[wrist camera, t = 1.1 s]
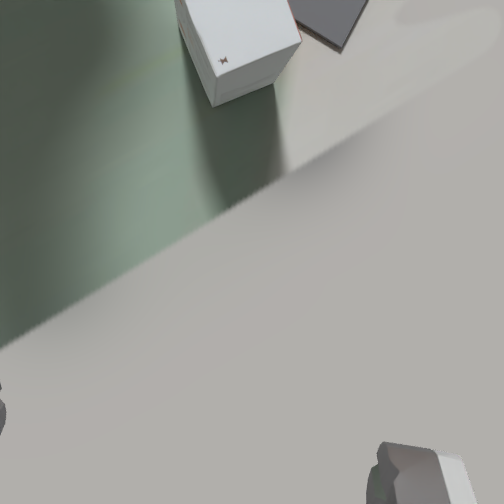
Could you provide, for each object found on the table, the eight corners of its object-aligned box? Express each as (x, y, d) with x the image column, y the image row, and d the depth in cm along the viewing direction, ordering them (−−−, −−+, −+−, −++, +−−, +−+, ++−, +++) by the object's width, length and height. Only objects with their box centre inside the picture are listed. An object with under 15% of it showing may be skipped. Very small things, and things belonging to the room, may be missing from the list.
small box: (275, 83, 43) (305, 43, 30) (211, 109, 42) (215, 80, 30) (241, -6, 41) (258, -87, 28) (176, 21, 41) (163, -49, 28)
